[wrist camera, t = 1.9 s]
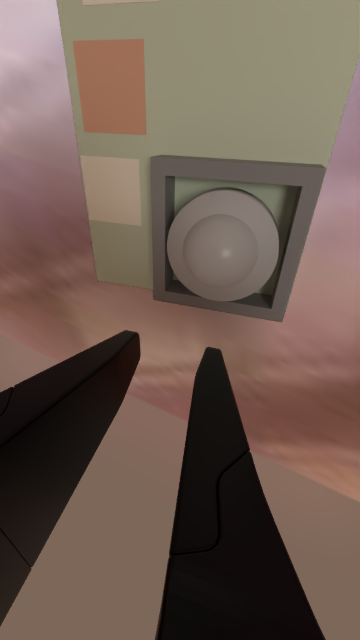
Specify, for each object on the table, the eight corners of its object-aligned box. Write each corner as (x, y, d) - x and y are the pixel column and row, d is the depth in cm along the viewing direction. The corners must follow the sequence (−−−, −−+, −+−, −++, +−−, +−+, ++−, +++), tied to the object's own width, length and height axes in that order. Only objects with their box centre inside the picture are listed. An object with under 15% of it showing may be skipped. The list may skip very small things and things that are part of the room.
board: (556, -647, 6) (701, -1053, 4) (285, 306, 20) (286, 327, 17) (11, -411, 9) (-70, -575, 7) (102, 276, 22) (84, 291, 20)
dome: (290, 189, 15) (294, 206, 11) (266, 291, 18) (264, 326, 15) (179, 181, 16) (155, 193, 13) (176, 277, 19) (156, 306, 16)
